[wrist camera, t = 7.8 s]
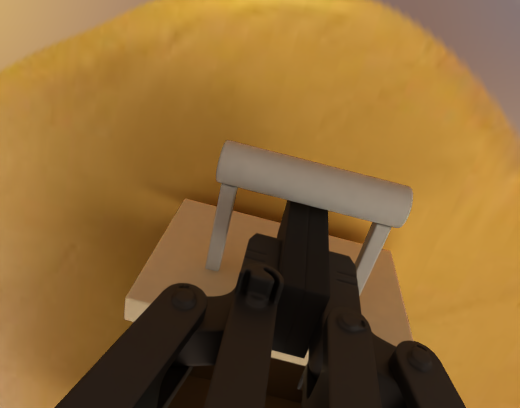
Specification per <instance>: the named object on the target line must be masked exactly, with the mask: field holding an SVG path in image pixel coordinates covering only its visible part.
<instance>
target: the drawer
mask: <svg viewBox="0 0 520 408" xmlns="http://www.w3.org/2000/svg"><path fill="white" fill-rule="evenodd" d="M216 181H217V182H219V183H222V184H221V188H220V193H219V198H218V204H217V206H213V205H209V204H205V203H201V202H197V201H193V200H189V199H184V201H183V202H182V204H181V206H180V207H179V209H178V211H177V212H176V214H175V216H174V217H173V219H172V221H171V222H170V224H169V226H168V227H167V229H166V231H165V232H164V234H163V236H162V237H161V239H160V241H159V242H158V244H157V246H156V247H155V249H154V251H153V252H152V254H151V256H150V257H149V259H148V261H147V262H146V264H145V266H144V267H143V269H142V271H141V272H140V274H139V276H138V277H137V279H136V281H135V282H134V284H133V286H132V287H131V289H130V291H129V292H128V294H127V296H126V297H125V309H124V319H125V320H128V321H132V322H135V320H136V319H137V318H138V317H139V316H140V315H141V314H142V313H143V312H144V311H145V310H146V309H147V308H148V306H149V305H150V304H151V303H152V302H153V301H154V300H155V299H156V298H157V297H158V296H159V295H160V294H161V292H162V291H163V290H164V289H166V288H167V287H169V286H170V285H173V284H177V283H189V284H192V285H196V286H197V287H199V288H200V289H202V290H203V291H204V293H205V294H206V296H222V295H225V294H228V293H229V292H231V291H232V290H233V289H234V288H235V287H236V284H237V281H238V277H239V273H240V271H241V267H242V263H243V260H244V256H245V252H246V248H247V245H248V241H249V239H250V238H251V237H252V236H253V235H255V234H256V233H259V234H263V235H267V236H271V237H274V238H277V234H278V230H279V227H280V223H279V222H275V221H271V220H267V219H263V218H259V217H256V216H252V215H248V214H244V213H240V212H236V211H233V207H234V202H235V198H236V193H237V189H238V187H239V188H243V189H247V190H251V191H254V192H258V193H262V194H266V195H270V196H274V197H278V198H282V199H286V200H290V201H293V202H297V203H301V204H305V205H309V206H313V207H317V208H321V209H325V210H328V211H332V212H336V213H340V214H344V215H348V216H352V217H356V218H360V219H364V220H367V221H371V222H372V225H371V227H370V229H369V232H368V234H367V236H366V239H365V241H364V243H363V244H361V243H357V242H353V241H349V240H345V239H341V238H337V237H333V236H330V235H329V251H332V252H336V253H339V254H343V255H347V256H350V258H351V259H352V261H353V263H354V264H355V266H356V272H357V280H358V289H359V297H360V305H361V314H362V315H363V316H364V317H365V318H366V320H367V321H368V322H369V325H370V327H371V331H372V332H373V333H374V334H375V335H376V336H378V337H379V338H381V339H383V340H385V341H387V342H388V343H390V344H392V345H394V346H396V347H397V345H398V344H399V343H401V342H402V341H408V340H411V341H413V337H412V333H411V329H410V325H409V321H408V317H407V313H406V310H405V306H404V302H403V298H402V294H401V290H400V286H399V282H398V278H397V274H396V270H395V266H394V262H393V259H392V255H391V252H390V251H388V250H384V249H382V247H383V245H384V243H385V241H386V238H387V236H388V234H389V232H390V230H391V227H395V228H400V227H402V226H403V224H404V223H405V222H406V220H407V218H408V216H409V213H410V211H411V207H412V201H413V192H412V189H411V188H410V187H409V186H406V185H402V184H398V183H394V182H390V181H386V180H382V179H378V178H375V177H371V176H367V175H363V174H359V173H355V172H351V171H347V170H343V169H340V168H336V167H332V166H328V165H324V164H320V163H316V162H312V161H308V160H304V159H301V158H297V157H293V156H289V155H285V154H281V153H277V152H273V151H269V150H265V149H262V148H258V147H254V146H250V145H246V144H242V143H238V142H234V141H230V140H226V142H225V143H224V145H223V147H222V150H221V154H220V157H219V161H218V166H217V171H216ZM308 356H309V349H308V351H307V353H306V356H305V358H304V359H303V358H300V357H296V356H292V355H288V354H284V353H280V352H277V351H273V350H272V352H271V359H270V367H269V375H268V383H267V391H266V399H265V407H264V408H302V395H303V385H302V387H301V389H297V387H298V383H299V381H300V378H301V376H302V374H303V371H304V369H305V367H306V364H307V362H308ZM214 367H215V365H207V366H193V369H192V370H191V372H190V373H189V375H188V376H187V378H186V380H185V381H184V383H183V384H182V386H181V387H180V389H179V390H178V392H177V393H176V395H175V396H174V398H173V400H172V401H171V403H170V404H169V406H168V407H167V408H204V405H205V401H206V397H207V394H208V390H209V386H210V382H211V379H212V375H213V371H214Z"/></svg>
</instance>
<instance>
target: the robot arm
mask: <svg viewBox="0 0 520 408" xmlns="http://www.w3.org/2000/svg"><path fill="white" fill-rule="evenodd" d="M308 349H309V356H308V362H307V364H306V367H305V369H304V371H303V374H302V376H301V378H300V381H299V383H298V387H297V389H301V387H302V385H303V395H302V408H466V407H465V405H464V403H463V401H462V400H461V398H460V396H459V394H458V392H457V391H456V389H455V387H454V385H453V383H452V382H451V380H450V378H449V376H448V374H447V372H446V371H445V369H444V367H443V365H442V363H441V362H440V360H439V359H438V357H437V356H436V355H435V353H434V352H432V351H431V350H430V349H429V348H428V347H426V346H424V345H422V344H420V343H419V342H415V341H411V340H408V341H402V342H401V343H399V344H398V345H397V347H396V346H394V345H392V344H390V343H388V342H387V341H385V340H383V339H381V338H379V337H378V336H376V335H375V334H374V333H373V332H372V331H371V327H370V325H369V322H368V321H367V320H366V318H365V317H364V316H363V315H362V314H361V305H360V297H359V289H358V280H357V272H356V266H355V264H354V263H353V261H352V259H351V258H350V256H347V255H343V254H339V253H336V252H332V251H329V232H328V210H325V209H321V208H317V207H313V206H309V205H305V204H301V203H297V202H293V201H290V200H287V203H286V207H285V210H284V213H283V217H282V220H281V223H280V227H279V230H278V234H277V238H274V237H271V236H267V235H263V234H259V233H256V234H255V235H253V236H252V237H251V238H250V239H249V241H248V245H247V248H246V252H245V256H244V260H243V263H242V267H241V271H240V273H239V277H238V281H237V284H236V287H235V288H234V289H233V290H232V291H231V292H229V293H228V294H225V295H222V296H206V294H205V293H204V291H203V290H202V289H200V288H199V287H197V286H196V285H192V284H189V283H177V284H173V285H170V286H169V287H167V288H166V289H164V290H163V291H162V292H161V294H160V295H159V296H158V297H157V298H156V299H155V300H154V301H153V302H152V303H151V304H150V305H149V306H148V308H147V309H146V310H145V311H144V312H143V313H142V314H141V315H140V316H139V317H138V318H137V319H136V320H135V322H134V323H133V324H132V325H131V326H130V327H129V328H128V329H127V330H126V331H125V332H124V333H123V334H122V336H121V337H120V338H119V339H118V340H117V341H116V342H115V343H114V344H113V345H112V346H111V347H110V348H109V350H108V351H107V352H106V353H105V354H104V355H103V356H102V357H101V358H100V359H99V360H98V361H97V362H96V364H95V365H94V366H93V367H92V368H91V369H90V370H89V371H88V372H87V373H86V374H85V375H84V376H83V377H82V379H81V380H80V381H79V382H78V383H77V384H76V385H75V386H74V387H73V388H72V389H71V390H70V391H69V393H68V394H67V395H66V396H65V397H64V398H63V399H62V400H61V401H60V402H59V403H58V404H57V405H56V407H55V408H167V407H168V406H169V404H170V403H171V401H172V400H173V398H174V396H175V395H176V393H177V392H178V390H179V389H180V387H181V386H182V384H183V383H184V381H185V380H186V378H187V376H188V375H189V373H190V372H191V370H192V369H193V366H207V365H215V367H214V371H213V375H212V379H211V382H210V386H209V390H208V394H207V397H206V401H205V405H204V408H264V407H265V399H266V391H267V383H268V375H269V367H270V359H271V352H272V350H273V351H277V352H280V353H284V354H288V355H292V356H296V357H300V358H303V359H304V358H305V356H306V353H307V351H308Z"/></svg>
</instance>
